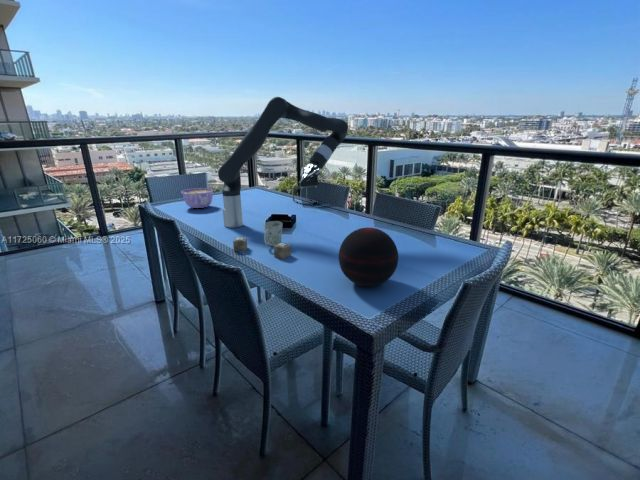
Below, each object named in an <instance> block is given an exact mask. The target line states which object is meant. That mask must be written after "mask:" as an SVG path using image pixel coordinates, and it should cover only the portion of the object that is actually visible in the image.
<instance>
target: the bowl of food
mask: <svg viewBox="0 0 640 480" xmlns="http://www.w3.org/2000/svg"><path fill="white" fill-rule="evenodd" d="M181 194H182V197H183V200H184V202H185V204H186V205H187V207H190V208H192V209H193V208H204V207H206V208H207V207H208V206H210V205H211V204H212V203H213V197H214V189H213V188H209V187H194V188H188V189H183V190H181ZM204 209H205V208H204Z"/></svg>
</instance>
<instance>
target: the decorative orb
mask: <svg viewBox="0 0 640 480" xmlns="http://www.w3.org/2000/svg"><path fill="white" fill-rule="evenodd" d="M398 264H399V251H398V248H397V245H396V243H395V241H394V240H393V239H392V237H391V236H390V235H389V234H388V233H386V232H385V231H384V230H381V229H379V228H375V227H362V228H358V229H355V230H353V231H352V232H350V233H349V234H348V235H346V237H344V240H343V241H342V243H341V244H340V247H339V251H338V265H339V267H340V269H341V271H342V273H343V275H344V276H345V277H346V278H347V279H348V280H349V281H350V282H352V283H353V284H356V285H358V286H359V287H360V286H361V287H366V288H368V287H370V288H371V287H377V286H379V285H383V284H384V283H386V282H387V281H388V280H389V279H390V278H391V277H392V276H393V275H394V273H395V272H396V269H397V267H398Z"/></svg>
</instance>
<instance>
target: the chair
mask: <svg viewBox="0 0 640 480" xmlns="http://www.w3.org/2000/svg"><path fill="white" fill-rule="evenodd" d="M318 185H319V175H318V176H317V177H315V178H314V179H312V180H308V181H307V182H306V183H305V184H304V186H303V187H302V186H300V185H298V186H297V185H294V186H293V187H292V190H291V191H292V193H291V195H292V201H293V202H294V201H295V202H298V203H301V204H304V205H309V206H311V205H310V204H313V203H314V202H313V201H315V200H314V199H311V198H309V196H308V195H309V194H308V192H309V191H308V189H312V188H315V189H316V188H317V187H318ZM295 189H296V190H299V191H302V190H303V189H305V193H306V194H305V195H306V196H305V197H306V200H307V199H308V200H307V201H309V200H312V201H311V202H312V203H302V202H300V201H296V200H295ZM295 202H294V203H295ZM298 203H297V204H298ZM301 204H300V205H301ZM304 205H303V206H304Z"/></svg>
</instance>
